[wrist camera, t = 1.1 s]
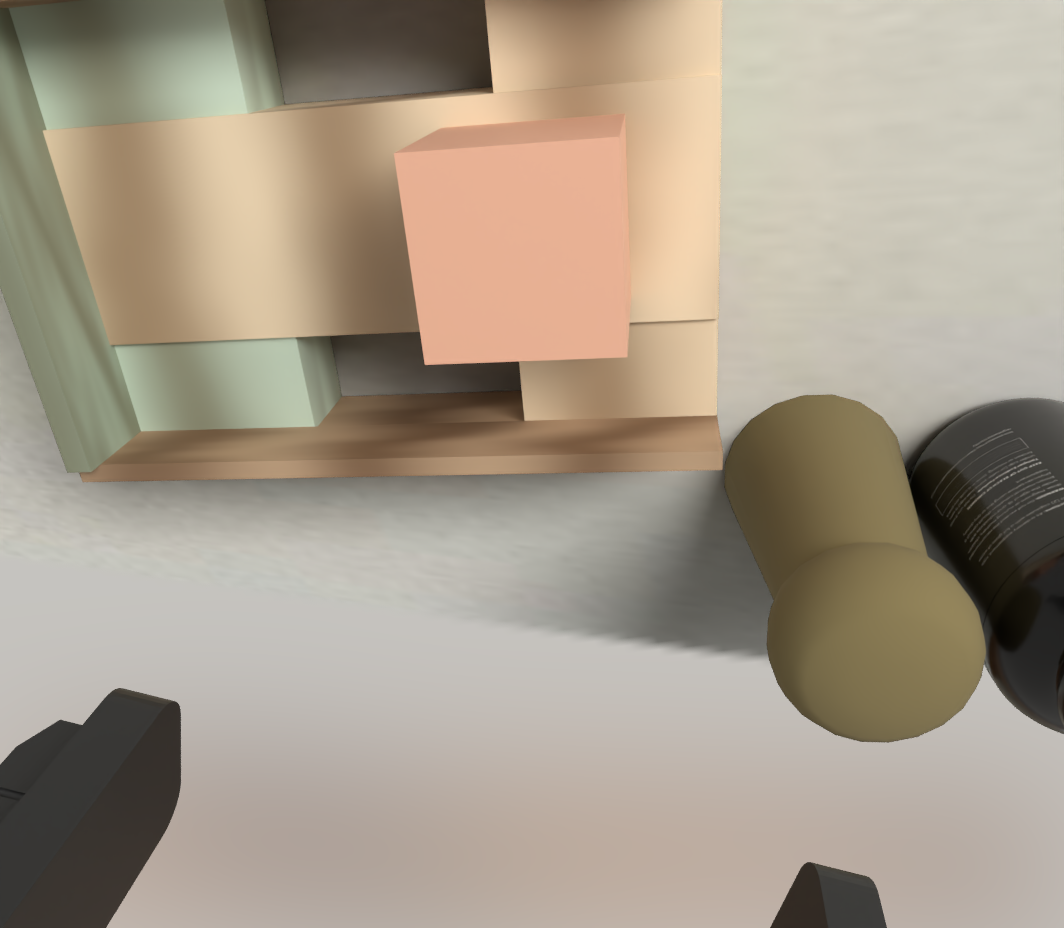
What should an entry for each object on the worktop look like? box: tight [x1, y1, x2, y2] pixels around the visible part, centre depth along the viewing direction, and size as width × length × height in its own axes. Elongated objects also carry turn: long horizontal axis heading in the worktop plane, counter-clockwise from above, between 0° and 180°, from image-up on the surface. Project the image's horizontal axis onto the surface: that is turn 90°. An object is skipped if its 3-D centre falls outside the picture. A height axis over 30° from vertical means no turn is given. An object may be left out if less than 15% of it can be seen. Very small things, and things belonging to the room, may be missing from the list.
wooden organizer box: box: [0, 0, 723, 482], centre depth 25 cm, size 20×14×6 cm
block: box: [394, 114, 631, 365], centre depth 22 cm, size 5×5×5 cm
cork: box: [725, 395, 986, 742], centre depth 26 cm, size 6×6×11 cm
